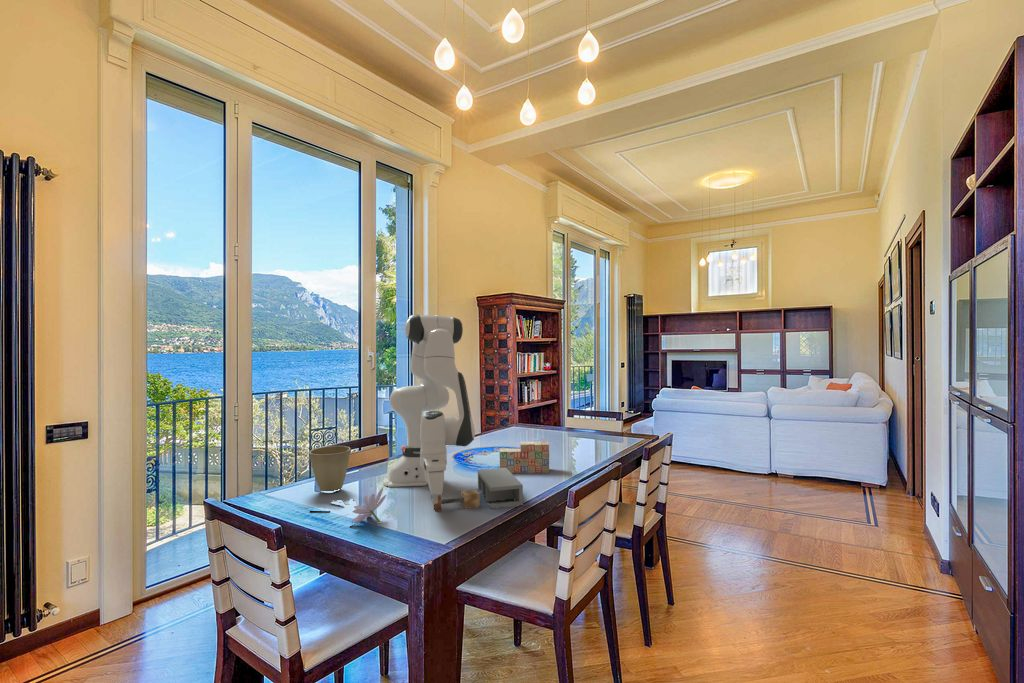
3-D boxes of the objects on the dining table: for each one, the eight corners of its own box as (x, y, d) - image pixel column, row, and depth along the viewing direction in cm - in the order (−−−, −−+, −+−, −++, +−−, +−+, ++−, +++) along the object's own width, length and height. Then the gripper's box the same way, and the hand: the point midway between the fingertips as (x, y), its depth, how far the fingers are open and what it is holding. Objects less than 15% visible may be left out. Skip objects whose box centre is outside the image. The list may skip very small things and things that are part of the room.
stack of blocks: (499, 473, 217) (499, 444, 217) (500, 469, 224) (499, 441, 224) (549, 472, 217) (549, 444, 217) (549, 469, 223) (548, 441, 223)
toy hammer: (435, 512, 169) (434, 491, 169) (432, 508, 173) (431, 487, 173) (479, 506, 174) (478, 486, 174) (475, 502, 179) (474, 482, 179)
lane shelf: (491, 508, 171) (490, 487, 171) (478, 488, 195) (477, 469, 195) (522, 505, 174) (522, 484, 174) (506, 485, 198) (506, 467, 198)
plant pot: (306, 490, 198) (305, 449, 198) (344, 483, 206) (343, 444, 206) (315, 499, 185) (315, 456, 185) (356, 492, 194) (355, 450, 194)
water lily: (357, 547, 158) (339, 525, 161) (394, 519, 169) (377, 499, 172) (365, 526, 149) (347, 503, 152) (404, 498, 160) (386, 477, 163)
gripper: (421, 454, 180) (422, 493, 181) (426, 468, 161) (427, 511, 161) (439, 452, 182) (440, 491, 182) (446, 466, 162) (447, 509, 162)
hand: (434, 501), depth 171 cm, fingers open, 3 cm apart
